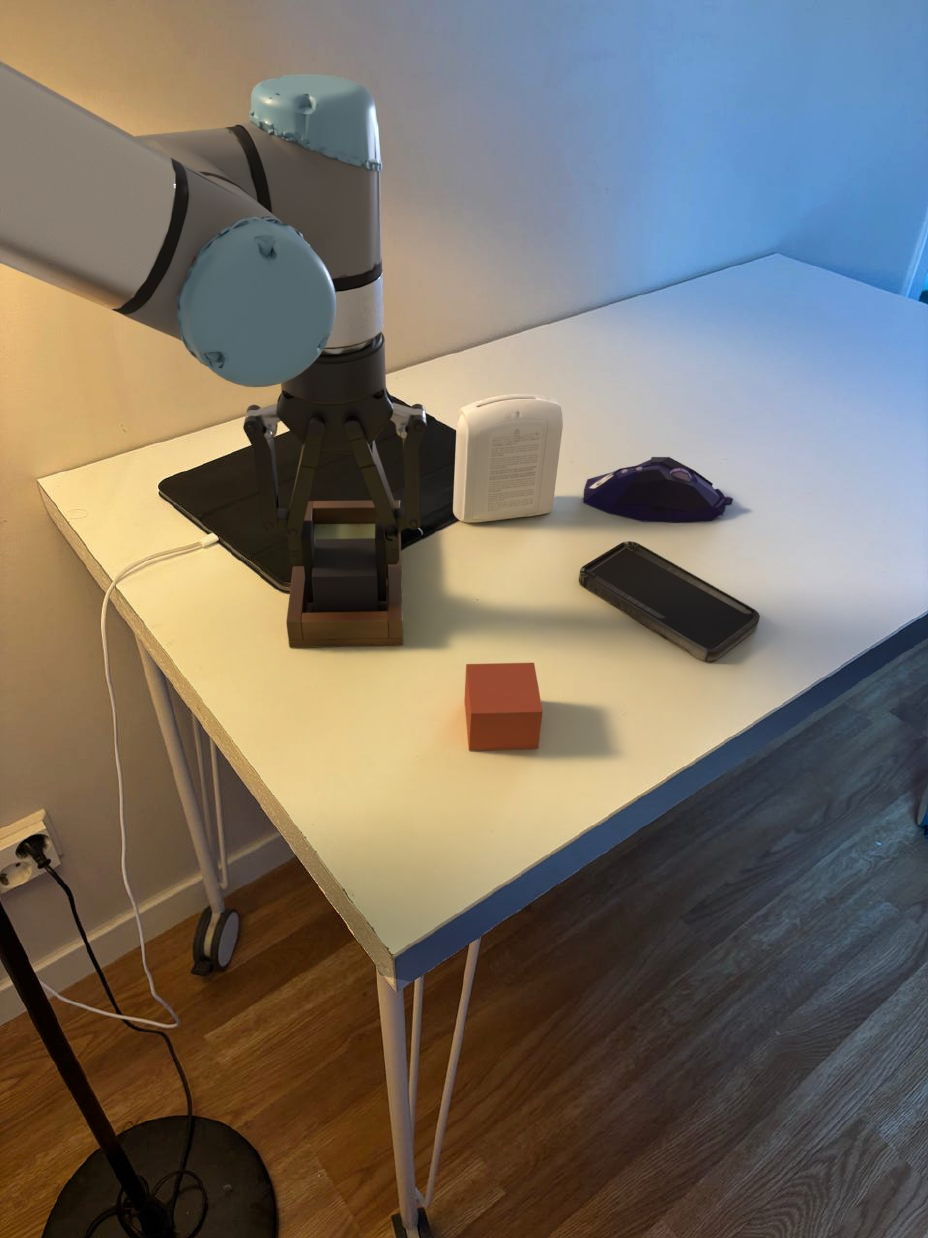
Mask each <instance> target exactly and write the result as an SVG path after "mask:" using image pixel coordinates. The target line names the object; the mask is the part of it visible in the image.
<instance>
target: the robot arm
mask: <svg viewBox="0 0 928 1238" xmlns="http://www.w3.org/2000/svg"><path fill="white" fill-rule="evenodd" d="M250 94H251V95H250V105H251V106H250V107H251V109H250V110H249V112H248V113H249V114H248V115H249V122H244V123H243V122H242V123H237V124H235V125H233V126H226V127H218V128H216V127H215V128H206V129H196V130H185V131H174V132H163V133H153V134H151V133H150V134H142V135H133V134H131V133H130V132H127V131H126V130H124V129H122V128H120V127H119V126H117V125H115V124H113V123H112V122H110V121H108V120H106V119H104V118H103V117H101V116H100V115H98V114H96V113H94V112H92V111H90V110H89V109H87V108H85V107H83V106H82V105H80V104H78V103H76V102H74V101H73V100H71V99H69V98H67V97H66V96H64V95H62V94H60V93H58V92H57V91H55V90H54V89H52V88H50V87H48V86H46V85H44V84H43V83H41V82H40V81H37V80H36V79H34V78H32V77H31V76H28V75H27V74H25V73H23V72H21V71H19V70H17V69H16V68H15V67H13V66H11V65H9V64H7V63H5V62H3V61H2V60H0V264H1V265H3V266H6V267H8V268H11V269H14V270H15V271H18V272H21V273H23V274H25V275H28V276H30V277H32V278H34V279H37V280H39V281H42V282H44V283H46V284H49V285H51V286H54V287H56V288H59V289H60V290H63V291H66V292H68V293H70V294H72V295H75V296H77V297H80V298H82V299H84V300H87V301H89V302H92V303H94V304H96V305H99V306H101V307H104V308H105V309H108V310H111V311H113V312H115V313H118V314H120V315H122V316H124V317H126V318H127V319H130V320H132V321H134V322H137V323H139V324H141V325H144V326H146V327H149V328H151V329H153V330H156V331H158V332H160V333H163V334H165V335H167V336H170V337H172V338H175V339H177V340H179V341H181V342H182V343H183V345H184V347H185V348H186V350H187V351H188V352H189V354H190V355H191V356H192V357H194V358H195V359H196V360H197V361H198V362H199V363H200V364H202V365H203V366H205V367H207V368H209V370H211V372H212V373H214V374H215V375H217V376H218V377H220V378H221V379H223V380H225V381H227V382H229V383H232V384H234V385H237V386H242V387H245V388H266V387H267V388H268V387H272V386H277V385H280V389H281V390H280V391H281V392H280V394H279V396H278V398H277V400H276V401H277V403H275V404H271V405H268V406H264V407H261V406H260V405H257V404H252V405H249V406H248V407H247V408H246V411H245V412H246V413H245V417H244V420H243V421H244V422H243V425H242V428H243V432H244V433H245V435H246V437H247V439H248V441H249V443H250V445H251V447H252V448H253V453H254V463H255V472H256V480H257V481H256V484H257V491H258V500H259V501H258V502H259V509H260V519H261V526H262V529H263V530H264V531H266V532H267V533H268V532H269V533H272V532H273V533H274V532H275V531H279V532H281V533H283V534H284V535H285V536H286V539H287V547H288V548H287V549H288V556H289V563H290V564H291V565H292V567H293V566H304V573H305V583H306V593H307V603H314V594H313V584H312V570H313V564H314V553H315V542H314V531H313V520H304V519H305V514H306V510H307V505H308V501H310V498H311V497H310V496H311V492H312V487H313V483H314V478H315V476H316V475H315V474H316V470H317V467H318V463H319V458H320V457H326V456H332V455H335V454H336V455H337V454H340V455H345V456H354V458H355V460H356V464H357V466H358V468H359V469H360V470H361V474H362V477H363V478H364V482H365V484H366V487H367V489H368V492H369V496H370V498H371V501H373V504H374V506H375V509H376V512H377V515H378V517H379V519H378V520H375V553H376V567H377V589H378V601H386V565H395V564H397V563H398V561H399V534H400V532H401V533H402V531H404V530H407V529H410V530H412V531H413V530H417V529H419V528H420V527H421V525H422V511H421V510H422V508H421V506H422V505H421V504H422V503H421V477H420V476H421V473H420V472H421V471H420V446H421V443H422V441H423V438H424V436H425V433H426V431H427V426H428V425H427V415H426V414H427V412H426V407H425V406H424V405H423V404H421V403H415V404H412V405H411V406H410V407H409V406H406V405H403V404H399V403H396V402H394V400H393V397H392V396H391V394H390V392H389V391H388V388H387V375H386V343H385V342H386V340H385V336H384V333H383V332H382V331H383V329H384V327H385V312H384V311H385V308H384V303H385V302H384V269H383V259H382V258H383V256H382V217H381V216H382V215H381V214H382V213H381V207H382V206H381V205H382V204H381V201H382V200H381V172H382V171H383V161H382V159H381V146H380V145H381V144H380V134H379V133H380V131H379V123H378V119H377V118H378V117H377V109H376V103H375V100H374V97H373V95H372V94H371V92H370V91H369V90H368V89H367V88H366V87H365V86H364V85H363V84H361V83H359V82H357V81H354V80H353V79H350V78H347V77H342V76H338V75H330V74H319V73H296V74H295V73H294V74H284V75H280V76H278V77H277V78H276V77H275V78H267V79H264V80H261V81H260V82H258V83H257V84H256V85H255V86H254V87H253V89H252V91H251V93H250ZM390 421H391V422H393V423H394V425H395V432H396V433H395V434H396V435H397V436H399V437H400V438H402V461H403V483H404V484H403V485H404V486H403V487H404V505H402V506H400V508H396V505H395V502H394V500H395V499H394V496H393V493H392V490H391V487H390V485H389V481H388V479H387V476H386V473H385V470H384V467H383V464H382V461H381V458H380V456H379V453H378V450H377V445H376V440H375V439H376V438H377V437H378V436H379V434H380V433H381V432H382V431H383V429H385V427H386V425H387V424H388V423H389V422H390ZM280 422H281V423H282V424H283V425H284V426H285V427H286V428H287V429H288V430H289V431H290V432H291V433H292V435H294V436H295V438H296V439H297V440H298V441H299V442H300V443H301V444H302V446H301V452H300V455H299V461H298V466H297V471H296V476H295V480H294V484H293V489H292V494H291V498H290V504H289V508H288V509H286V508H282V507H281V504H280V494H279V493H280V492H279V483H278V470H277V460H276V459H277V458H276V449H275V437H276V436H277V433H278V426H279V425H278V424H279V423H280Z"/></svg>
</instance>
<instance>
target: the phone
mask: <svg viewBox="0 0 928 1238" xmlns="http://www.w3.org/2000/svg"><path fill="white" fill-rule="evenodd" d="M578 583H579V585H580V586H581V587H583V588H584V589H586V590H587V591H589V592H590V593H592V594H593V595H595V596H596V597H599V598H600V599H601V600H604V601H605V602H606V603H608V604H610V605H612V606H613V607H614V608H617V609H618V610H619V611H621V612H622V613H624V614H626V615H627V616H629V617H631V618H632V619H634V620H636V621H637V622H638V623H640V624H642V625H644V626H645V627H647V628H648V629H649V630H651V631H653V632H655V633H656V634H658V635H659V636H661V637H662V638H664V639H666V640H668V641H669V642H671V643H672V644H674V645H676V646H678V647H679V648H680V649H682V650H684V651H685V652H686V653H689V654H690V655H692V656H693V657H695V658H696V659H698V660H700V661H702V662H708V663H712V662H716V661H718V660H720V659H721V658H722V657H723V656H724V655H726V654H727V653H729V652H730V651H731V650H732V649H734V648H735V647H736V646H737V645H738V644H740V643H741V642H742V641H744V640H746V639H747V637H749V636H750V635H752V634H753V633H754V632H755V631H756V630H757V629H758V625H759V622H760V618H761V615H760V613H759V612H758V610H756V609H755V608H753V607H751V606H749V604H746V603H744V602H743V601H741V600H739V599H737V598H736V597H734V596H732V595H730V594H728V593H727V592H725V591H723V590H721V589H720V588H718V587H716V586H714V585H713V584H711V583H709V582H707V581H705V580H704V579H702V578H700V577H698V576H697V575H695V574H693V573H692V572H690V571H688V570H687V569H685V568H682V566H679V565H677V564H675V563H674V562H672V561H670V560H668V559H667V558H665V557H663V556H661V555H660V554H658V553H656V552H654V551H653V550H651V549H650V548H647V547H645V546H644V545H642V544H640V543H638V542H636V541H631V540H625V541H622V542H620V543H618V544H617V545H616V546H614V547H612V548H611V549H609V550H607V551H606V552H604V553H602V554H601V555H599V556H597V557H596V558H594V559H592V560H591V561H589V562H587V563H585V564H583V565H582V567H580V568H579V575H578Z"/></svg>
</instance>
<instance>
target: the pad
mask: <svg viewBox="0 0 928 1238" xmlns="http://www.w3.org/2000/svg"><path fill="white" fill-rule="evenodd" d="M464 681H465V682H464V701H463V702H464V708H465V709H464V711H465V721H466V723H465V724H466V733H467V744H468V751H469V752H472V751H473V752H474V751H506V750H507V751H509V750H538V749H539V746H540V736H541V727H542V721H543V714H544V712H543V706H542V700H541V695H540V688H539V682H538V677H537V670H536V665H535V662H504V663H503V662H500V663H466V664H465V678H464Z"/></svg>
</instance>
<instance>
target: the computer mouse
mask: <svg viewBox="0 0 928 1238" xmlns="http://www.w3.org/2000/svg"><path fill="white" fill-rule="evenodd" d="M713 485H714V483H713V482H711V481H710V480H708V478H706V477H704V476H703V475H702V474H700V473H699V472H698V471H696V470H695V469H694V468H693V469H692V467H689V466H687V465H685V464H683V463H681V462H680V461H678V460H676V459H674V458H673V457H670V456H651V458H650V459H648V460H646V461H643V462H641V463H639V464H636V465H633V466H627V467H621V468H618V469H616V470H614V471H611V472H607V473H604V474H601V475H597V476H594V477H591V478H587V479H586V483H585V485H584V489H583V497H582V503H584V504H586V505H589V506H590V507H592V508H595V509H598V510H600V511H602V512H605V513H607V514H611V515H615V516H619V517H623V518H628V519H632V520H635V521H640V522H650V523H651V522H653V523H654V522H655V523H674V524H675V523H694V522H710V521H711V522H712V521H713V520H716V519H717V518H719V517H723V515H724V513H725V511H726V507H727V506H733V505H732V504H733V501H734V498H733V497H731V496H725V494H724V493H723V492H722V490H720V489H719V488H714V487H713Z"/></svg>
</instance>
